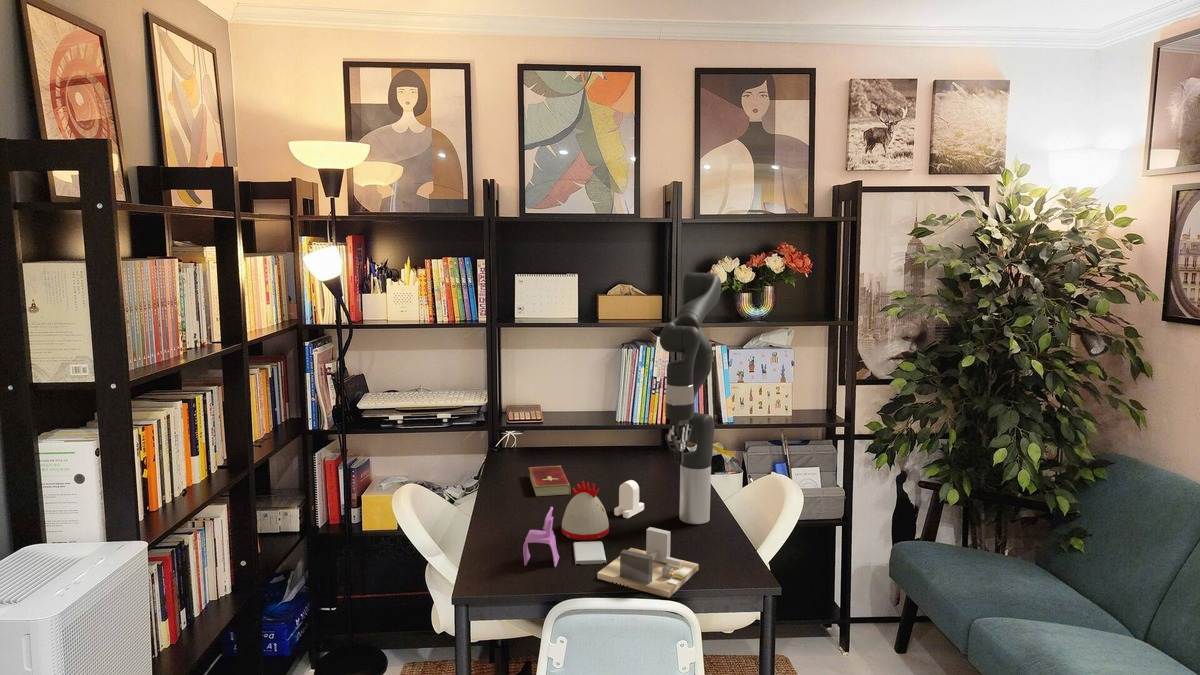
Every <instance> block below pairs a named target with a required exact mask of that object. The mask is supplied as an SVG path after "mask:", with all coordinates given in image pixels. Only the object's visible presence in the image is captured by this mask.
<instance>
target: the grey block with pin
mask: <svg viewBox="0 0 1200 675" xmlns="http://www.w3.org/2000/svg"><path fill="white" fill-rule="evenodd" d="M662 576H663V577H667V578H670V577H671V576H675V577H679V578H683V576H681V575H677V574H673V567H669V566H665V567H664V568H663V569H662Z"/></svg>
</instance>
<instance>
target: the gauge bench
mask: <svg viewBox="0 0 1200 675" xmlns="http://www.w3.org/2000/svg"><path fill="white" fill-rule="evenodd" d="M670 558H672V557H671V556H670ZM673 558H674V557H673ZM652 559H653V556H649V555H646V550H641V549H638V548H633V547H630V548H629V549H622V550H620V552H619V556H618V557H617V558H615V559H614V560H612V561H611V562H610V563H609V564H607V565H605V567H603V568H602V569H601V570H599V571H598V572H597V579H598V580H602V581H606V582H608V583H612V582H613V584H616V583H617V584H616V585H620V584H621V585H620V586H623V585H624V586H623V587H627V586H628V587H627V588H632V589H634V590H638V591H642V592H646V593H650V594H652V595H657V596H660V597H663V598H668V599H669V598H670V597H671V596H673V594H675V593H676V592H677V591H678V590H679V589H680V588H681V587H682V586H683V585H684V584H685V583H686V582H687V581H688V580H689V579H690V578H692V576H694V574H696V572H698V571H699V568H700V567H699V566H700V565H699V563H696V562H692V561H687V560H682V559H681V560H682V565H681V566H677V565H673V564H669V563H667V564H666V563H662V562H658V561H654V560H652ZM674 559H676V558H674ZM677 559H678V558H677ZM678 560H680V559H678ZM665 566H669V567H673V574H677V575H681V576H683V578H679V577H675V576H671V577H670V578H667V577H663V576H662V569H663V568H664V567H665Z"/></svg>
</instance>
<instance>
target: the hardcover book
mask: <svg viewBox="0 0 1200 675" xmlns="http://www.w3.org/2000/svg"><path fill="white" fill-rule="evenodd" d="M528 471H529V479H530V482H531V485H532V488H533V491H534V493H535V496H536V497H547V496H561V495H562V496H563V495H569V496H570V495H571V492H572V490H571V489H572V488H571V485H570V482H569V480H568V478H567V476H566V474H565V472H564V469H563V468H562V465H550V466H549V465H547V466H532V467H531V466H530V467H528Z"/></svg>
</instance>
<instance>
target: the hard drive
mask: <svg viewBox="0 0 1200 675" xmlns="http://www.w3.org/2000/svg"><path fill="white" fill-rule="evenodd" d="M572 546H573V554H574V555H573V556H574V563H575V565H576V564H581V565H604V564H603V563H606V564H607V559H606V554H605V553H606V552H605V548H604V544H603V542H602V541H599V540H598V541H578V542H576V541H575V542H573V544H572Z"/></svg>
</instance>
